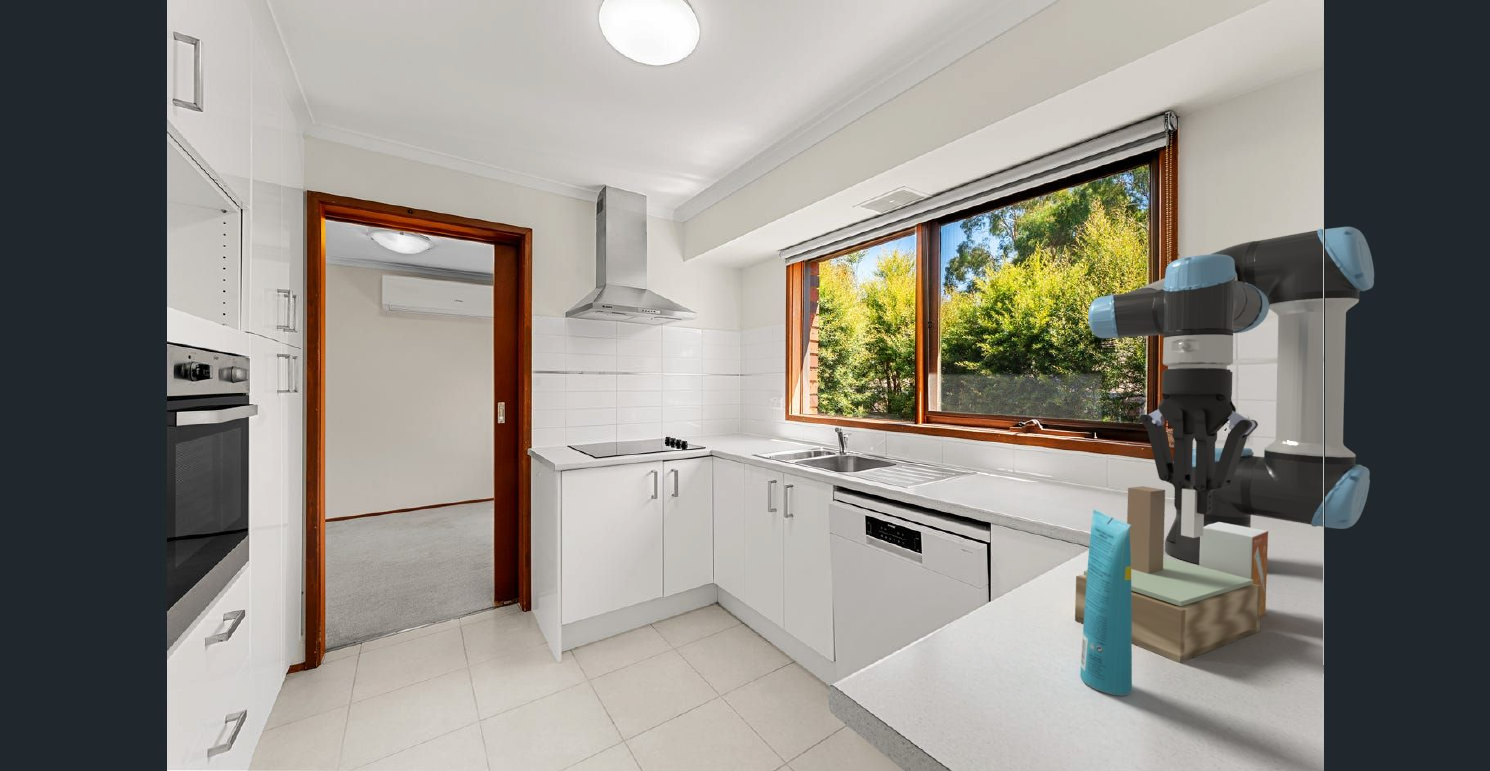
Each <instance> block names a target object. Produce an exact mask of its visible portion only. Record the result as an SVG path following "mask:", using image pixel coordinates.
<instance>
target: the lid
mask: <svg viewBox="0 0 1490 771" xmlns="http://www.w3.org/2000/svg"><path fill="white" fill-rule="evenodd" d="M1165 511H1166V489H1163V488H1156V487H1149V486H1142V485H1141V486H1134V487H1127V513H1126V514H1127V517H1126V522H1127V524H1130V525H1132V526H1131V527H1130V548H1131V590H1132V591H1135V592H1138V593H1141V594H1144V595H1147V596H1150V597H1153V598H1156V599H1160V600H1163V601H1166V602H1169V603H1172V604H1175V605H1178V606H1184V605H1187V604H1190V603H1193V602H1197V601H1200V600H1203V599H1206V598H1210V597H1213V596H1216V595H1219V594H1223V593H1226V592H1229V591H1232V590H1236V589H1239V588H1242V587H1245V586H1249V585H1252V584H1253V580H1252V579H1248V578H1244V577H1240V576H1236V575H1232V574H1228V573H1225V572H1221V571H1217V570H1213V569H1209V568H1205V567H1201V566H1199V565H1196V564H1194V563H1193V564H1192V563H1191V562H1187V561H1186V562H1185V561H1181V560H1178V559H1173V558H1170V557H1166V556H1164V554H1165V553H1164V552H1165V516H1166V515H1165V514H1166V513H1165ZM1083 575H1085V576H1087V570H1084V571H1083Z"/></svg>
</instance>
